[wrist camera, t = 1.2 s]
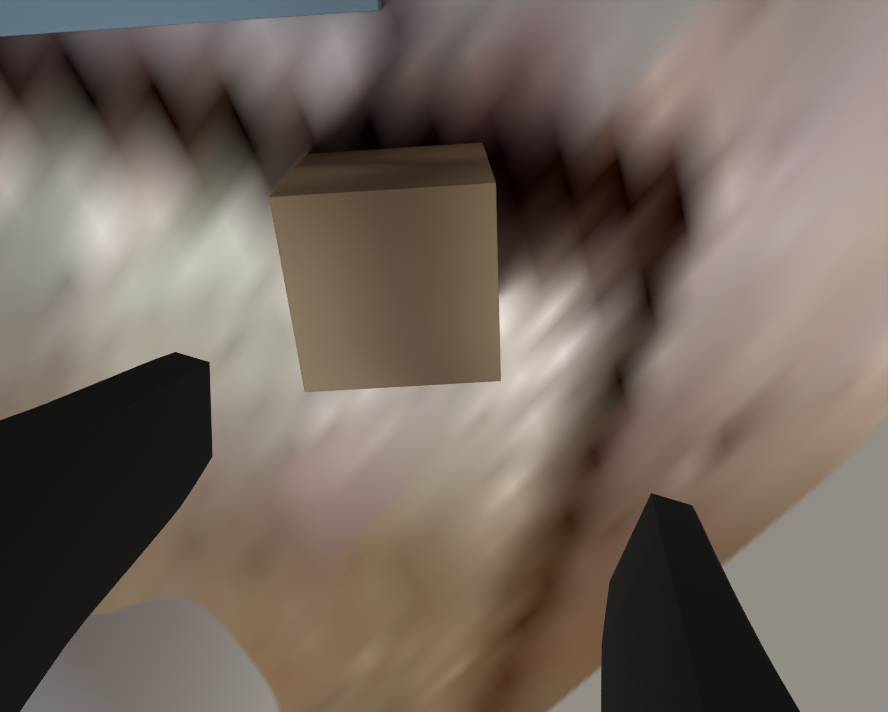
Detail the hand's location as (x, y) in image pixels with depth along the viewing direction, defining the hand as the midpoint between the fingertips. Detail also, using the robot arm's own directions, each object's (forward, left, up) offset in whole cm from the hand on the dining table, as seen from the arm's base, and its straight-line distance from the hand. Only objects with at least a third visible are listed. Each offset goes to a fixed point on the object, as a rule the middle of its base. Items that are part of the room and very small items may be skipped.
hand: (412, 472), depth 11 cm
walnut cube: (-1, +1, -11) cm, 11 cm away
